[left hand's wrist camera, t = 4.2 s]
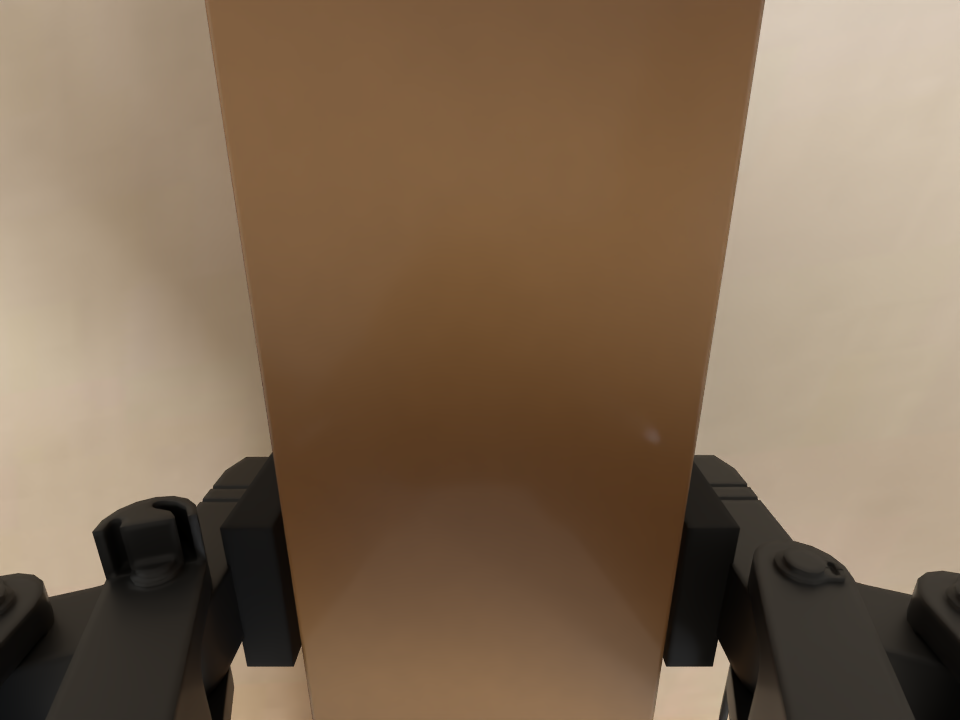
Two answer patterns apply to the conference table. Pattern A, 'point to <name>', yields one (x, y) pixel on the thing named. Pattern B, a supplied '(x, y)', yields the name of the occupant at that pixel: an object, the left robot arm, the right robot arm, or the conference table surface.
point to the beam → (483, 330)
